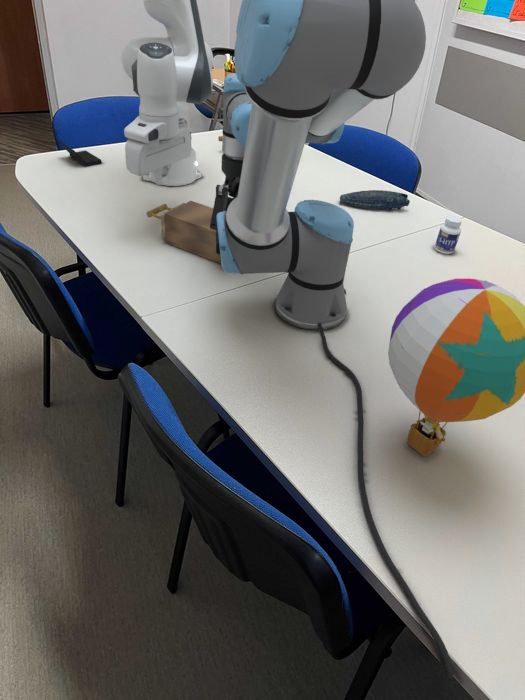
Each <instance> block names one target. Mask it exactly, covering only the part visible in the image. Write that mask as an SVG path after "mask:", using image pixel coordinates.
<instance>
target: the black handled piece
mask: <svg viewBox="0 0 525 700" xmlns="http://www.w3.org/2000/svg"><path fill="white" fill-rule="evenodd" d="M57 142H58V143H59V144H60V146H61V147H62V148H63V149H65V150H66V152H67V153H68V154H69V157H71V158H72V159H74V160H76V161H77V162H79V163H80V164H81V165H83V166H85V167H87V166H92V165H98V164H102V162H103V161H102V159H101V158H99V157H98V156H96V155H94V154H92V153H90V151H88V150H86V149H85V150H81V151H75V150H74V149H73V148H71V147H70V146H68V145H67V144H65V143H63V142H62V141H60V140H57Z"/></svg>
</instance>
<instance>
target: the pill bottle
mask: <svg viewBox="0 0 525 700" xmlns="http://www.w3.org/2000/svg"><path fill="white" fill-rule="evenodd" d="M462 222H463V219H461V218H460V217H458V216H455V215H448V216H446V218H445V220H444V223H443V224H442V225H440V228H439V231H438V234H437V237H436V240H435V243H434V250H435V251H437V252H439V253H441V254H447V255H449V254H453V253H454V252H455V250H456V247H457V244H458V242H459V239H460V236H461V233H462V229H461V225H462Z"/></svg>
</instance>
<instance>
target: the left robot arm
mask: <svg viewBox="0 0 525 700" xmlns="http://www.w3.org/2000/svg"><path fill="white" fill-rule="evenodd" d="M143 7H144V9H145V11H146V13H147V14H148V15H149V16H150V17H151V18H152V19H154V20H155V21H157V22H158V23H160V24H162V25H163V26H164V28H165V30H166V33H167V34H166V35H167V36H166V37H164V36H163V37H162V36H161V37H156V36H155V37H153V36H151V37H149V36H143V37H139V38H134V39H130V40H127V41H126V43H125V44H124V46H123V48H122V52H121V64H122V67H123V70H124V71H125V73H126V75H127V76H128V77H129V78H130V79H131V80H132V87H133V89H132V91H133V92H134V94H136V95H137V96H138V97H139V106H138V116H137V117H136V118H135V119H134V120H133V121H132V122H130V123H129V124H128V125H127V126H125V128H124V129H123V133H124V137H125V138H127V140H126V142H125V146H124V152H125V153H124V154H125V165H126V169H127V171H128V172H129V173H130V174H131V175H134V176H138V177H140V176H142V180H144V181H147V182H152V183H155V184H156V185H158V186H168V187H178V186H181V187H182V186H187V185H189V184H192V183H194V182H195V181H196V180H199V179H201V178H202V177H203V174H202V172H201V171H199V170H198V166H199V163H198V162H197V152H196V150H195V149H194V147H192V133H191V131H190V106H189V104H195V105H201V104H203V103H204V102H205V101H207V100H208V99H209V98H210V96H211V95H212V92H213V87H214V86H213V85H214V80H213V73H212V71H213V67H214V54H213V51H212V49H211V47H210V45H209V44H208V43H207V41H206V40H205V39H204V33H203V28H202V22H201V17H200V12H199V7H198V2H197V0H143Z"/></svg>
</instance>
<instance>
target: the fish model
mask: <svg viewBox="0 0 525 700" xmlns="http://www.w3.org/2000/svg"><path fill="white" fill-rule="evenodd" d="M410 202H411V201H410V200H409V195H408V194H406V193H403V192H402V193H401V192H399V191H392V190H382V189H380V190H379V189H377V190H376V189H368V190H360V191H352V192H348V193H344V194H341V195H340V196H339V203H343V204H346V205H349V206H351V207H357V208H362V209H371V210H372V209H374V210H384V211H385V210H386V211H391V210H394V209H397V210H402V208H404V207H408V206H409V205H410Z"/></svg>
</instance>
